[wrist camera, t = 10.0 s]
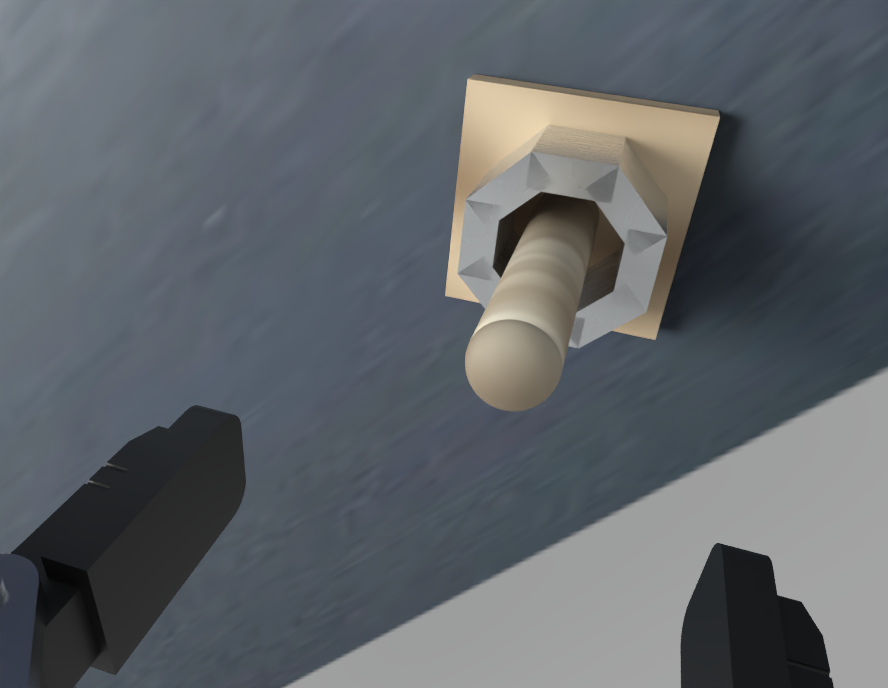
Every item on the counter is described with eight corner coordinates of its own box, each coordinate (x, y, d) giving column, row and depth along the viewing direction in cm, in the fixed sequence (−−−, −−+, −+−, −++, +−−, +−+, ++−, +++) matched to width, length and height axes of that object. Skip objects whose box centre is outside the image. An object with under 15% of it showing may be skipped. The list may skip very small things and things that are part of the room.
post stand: (474, 74, 24) (331, 174, 14) (717, 110, 22) (759, 252, 12) (451, 285, 28) (329, 481, 18) (655, 327, 26) (648, 567, 16)
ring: (496, 116, 23) (471, 141, 20) (681, 145, 22) (683, 176, 19) (475, 278, 26) (452, 321, 23) (637, 311, 25) (633, 360, 22)
